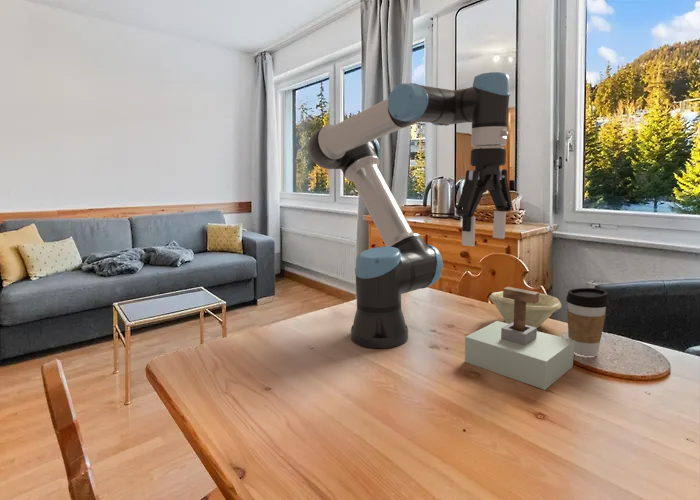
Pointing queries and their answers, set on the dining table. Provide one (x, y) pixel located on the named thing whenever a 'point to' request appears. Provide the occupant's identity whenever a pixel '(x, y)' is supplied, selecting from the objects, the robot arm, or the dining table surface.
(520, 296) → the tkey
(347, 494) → the dining table surface
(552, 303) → the bowl
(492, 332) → the socket box
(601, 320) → the coffee cup
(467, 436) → the dining table surface
